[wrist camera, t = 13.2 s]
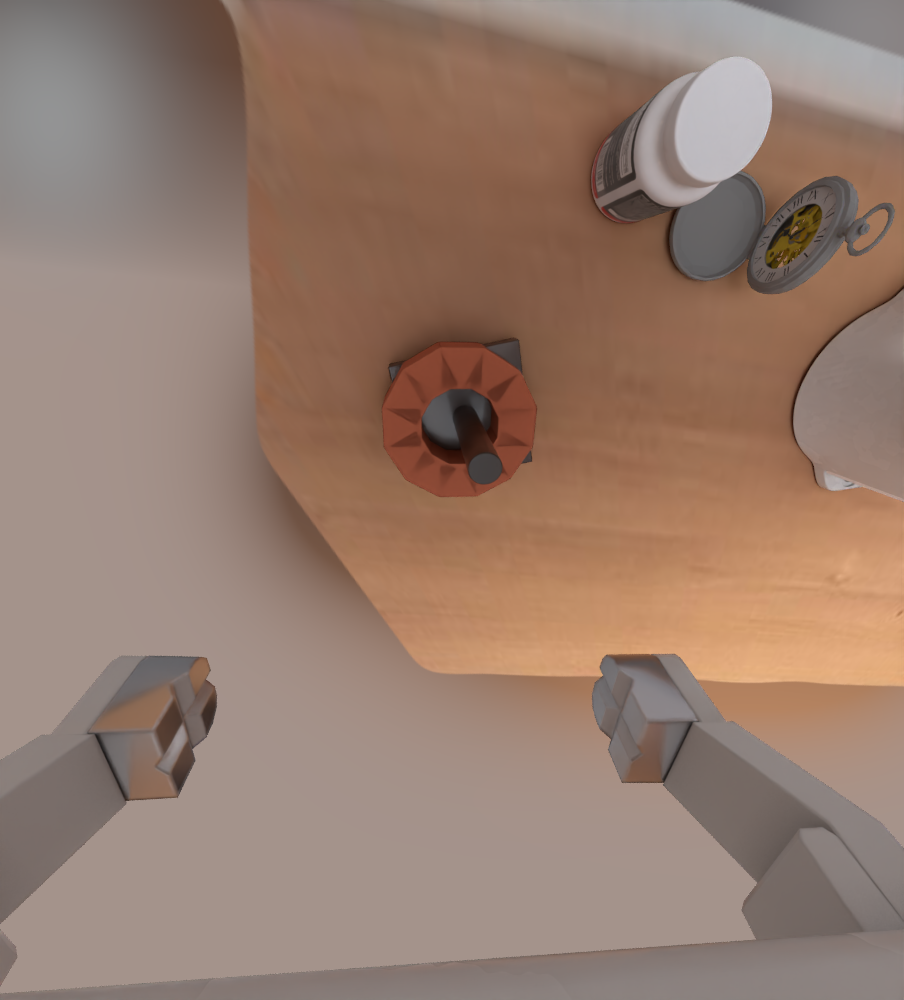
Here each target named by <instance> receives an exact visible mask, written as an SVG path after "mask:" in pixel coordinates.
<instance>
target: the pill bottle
mask: <svg viewBox="0 0 904 1000" xmlns="http://www.w3.org/2000/svg"><path fill="white" fill-rule="evenodd" d="M771 111H772V94H771V88H770V84H769V81H768V79H767V77H766V75H765V73H764V71H763V70H762V68H761V67H760V66H759V65H758V64H756V63H755V62H754V61H752V60H750V59H748V58H744V57H728V58H724V59H721V60H719V61H717V62H715V63H713V64H712V65H710V66H708V67H707V68H705V69H704V70H702V71H701V72H693V73H689V74H686V75H684V76H682V77H680V78H678V79H676V80H674V81H673V82H671V83H670V84H668V85H667V86H666V87H664V88H663V89H662V90H661V91H660V92H658V93H657V94H656V95H655V96H654V97H652V98H651V99H650V100H649V101H648V102H647V103H645V104H644V105H643V106H642V107H641V108H639V109H638V110H637V111H636V112H634V113H633V114H632V115H631V116H630V117H628V118H627V119H626V120H625V121H624V122H622V123H621V124H620V125H619V126H617V127H616V128H615V129H614V130H613V131H612V132H611V133H610V134H609V135H608V136H607V138H606V139H605V140H604V142H603V143H602V145H601V147H600V148H599V150H598V153H597V155H596V157H595V160H594V164H593V168H592V175H591V185H592V192H593V196H594V199H595V202H596V204H597V206H598V207H599V209H600V210H601V212H602V213H603V214H604V215H605V216H607V217H608V218H610V219H611V220H613V221H616V222H620V223H633V222H638V221H641V220H643V219H646V218H649V217H652V216H655V215H658V214H661V213H664V212H667V211H670V210H673V209H676V208H679V207H682V206H686V205H688V204H691V203H693V202H695V201H697V200H699V199H701V198H703V197H704V196H706V195H707V194H708V193H710V192H711V191H712V190H713V189H714V188H715V187H716V186H717V185H718V184H719V183H720V182H721V181H724V180H726V179H728V178H730V177H732V176H733V175H735V174H736V173H738V172H739V171H740V170H742V169H743V168H744V167H745V166H746V165H747V164H748V163H749V162H750V161H751V159H752V158H753V157H754V155H755V154H756V153H757V151H758V149H759V148H760V146H761V144H762V142H763V140H764V138H765V135H766V133H767V130H768V126H769V123H770V119H771Z"/></svg>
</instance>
